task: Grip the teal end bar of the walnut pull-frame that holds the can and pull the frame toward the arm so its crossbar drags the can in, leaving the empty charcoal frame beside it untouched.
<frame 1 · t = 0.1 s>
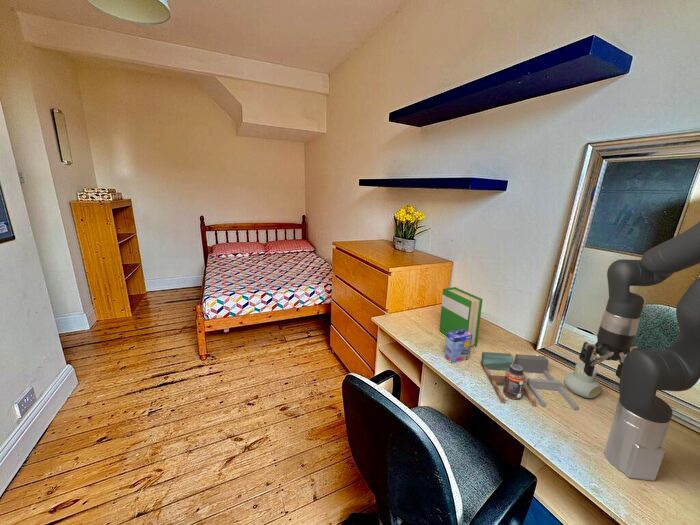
hand: (603, 376, 84), 17 cm above the table, tool pointing down, fingers open, 8 cm apart
hardback book: (457, 339, 139), on the table
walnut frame: (506, 375, 107), point 3 cm above the table, slide at 0.0 cm
supplement bottle: (512, 395, 101), on the table
charcoal frame: (542, 378, 105), point 3 cm above the table, slide at 0.0 cm
air freshener: (580, 392, 103), on the table
ink cartridge box: (456, 358, 123), on the table
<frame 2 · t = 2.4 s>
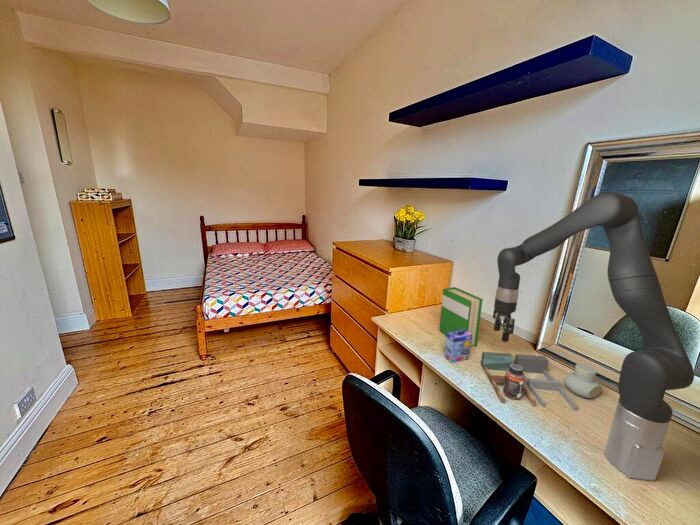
hand: (500, 335, 113), 15 cm above the table, tool pointing down, fingers open, 8 cm apart
nothing on the table moved.
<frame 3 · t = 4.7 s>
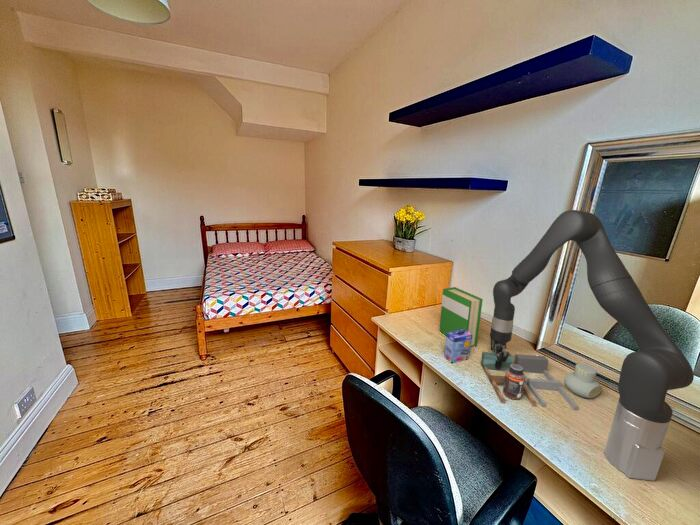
hand: (496, 365, 116), 1 cm above the table, tool pointing down, fingers closed on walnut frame, 3 cm apart
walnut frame: (506, 375, 107), point 3 cm above the table, slide at 0.0 cm, touching gripper
everything else where it was.
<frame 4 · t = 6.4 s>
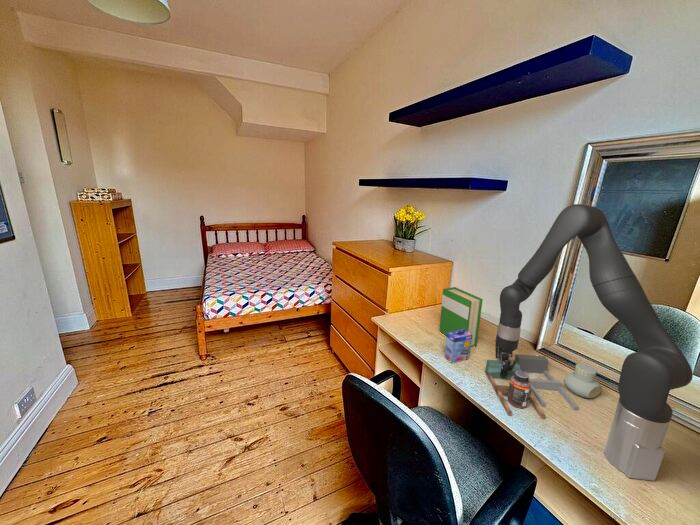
hand: (501, 373, 111), 1 cm above the table, tool pointing down, fingers closed on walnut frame, 3 cm apart
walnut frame: (512, 385, 101), point 3 cm above the table, slide at 5.7 cm, touching supplement bottle, gripper
supplement bottle: (517, 403, 97), on the table, touching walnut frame
everything else where it was.
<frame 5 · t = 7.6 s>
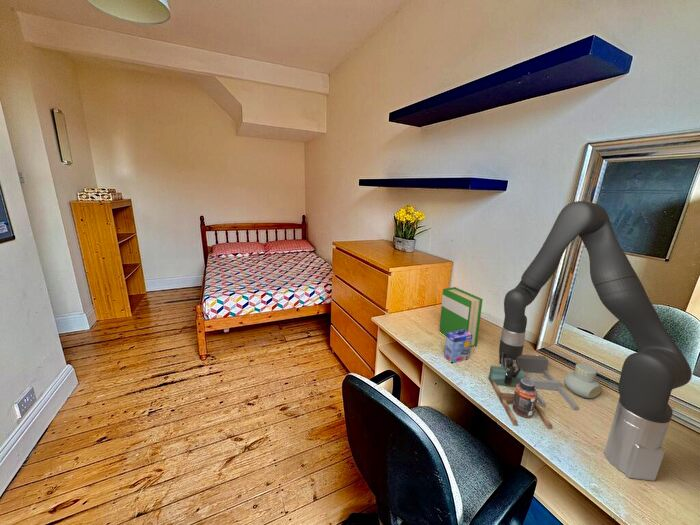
hand: (505, 380, 107), 1 cm above the table, tool pointing down, fingers closed on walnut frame, 3 cm apart
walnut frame: (517, 393, 97), point 3 cm above the table, slide at 9.7 cm, touching supplement bottle, gripper
supplement bottle: (522, 412, 93), on the table, touching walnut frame
everything else where it was.
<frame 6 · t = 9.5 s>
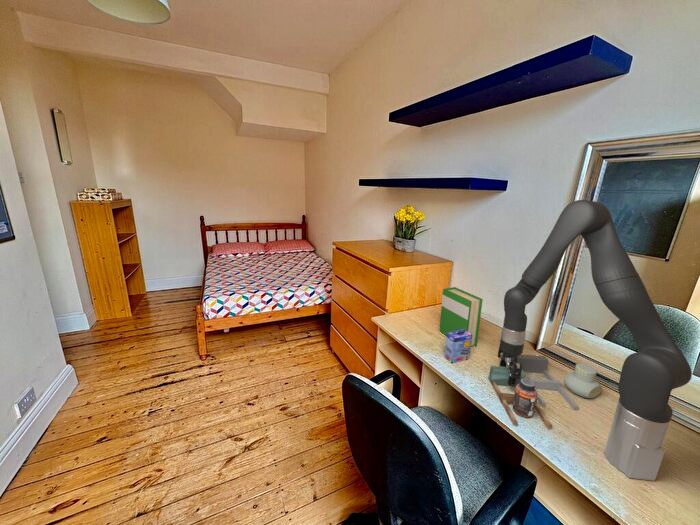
hand: (506, 377, 106), 3 cm above the table, tool pointing down, fingers open, 8 cm apart
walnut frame: (517, 393, 97), point 3 cm above the table, slide at 9.8 cm
supplement bottle: (522, 412, 93), on the table
everything else where it was.
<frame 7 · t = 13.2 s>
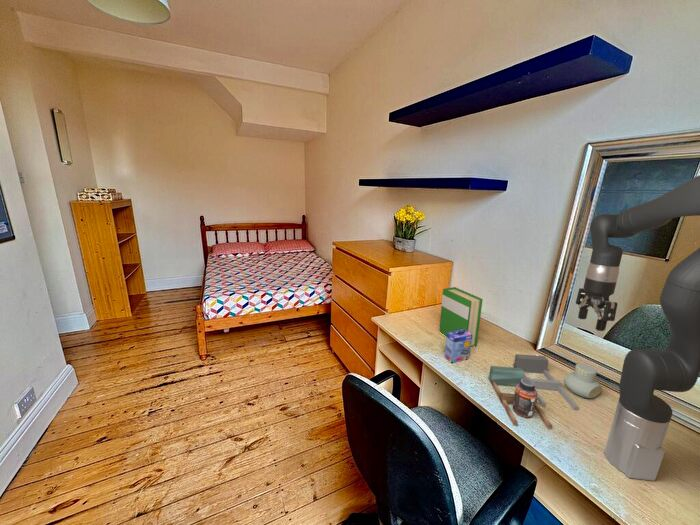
hand: (590, 324, 94), 28 cm above the table, tool pointing down, fingers open, 8 cm apart
nothing on the table moved.
at the end: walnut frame slide at 9.8 cm; supplement bottle inside the target area (0.3 cm from its centre), on the table; supplement bottle tilted 0° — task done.
